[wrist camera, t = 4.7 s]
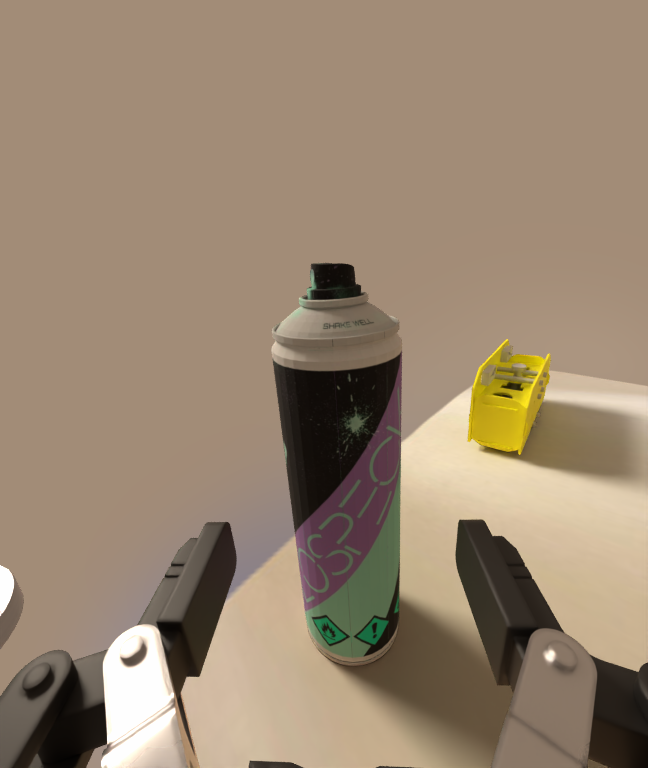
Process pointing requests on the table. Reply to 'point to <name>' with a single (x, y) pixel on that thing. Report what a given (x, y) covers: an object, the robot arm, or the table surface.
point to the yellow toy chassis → (507, 398)
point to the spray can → (343, 461)
